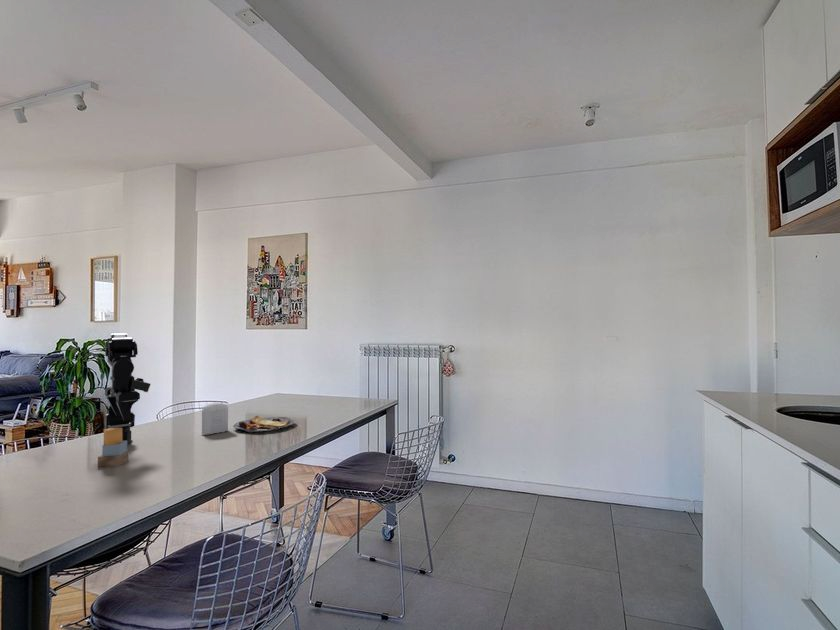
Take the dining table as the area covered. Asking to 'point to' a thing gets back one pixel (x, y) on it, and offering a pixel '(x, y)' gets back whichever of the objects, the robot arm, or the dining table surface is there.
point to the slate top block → (114, 449)
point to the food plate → (264, 424)
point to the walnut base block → (112, 460)
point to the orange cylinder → (112, 436)
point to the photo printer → (214, 418)
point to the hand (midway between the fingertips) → (121, 418)
